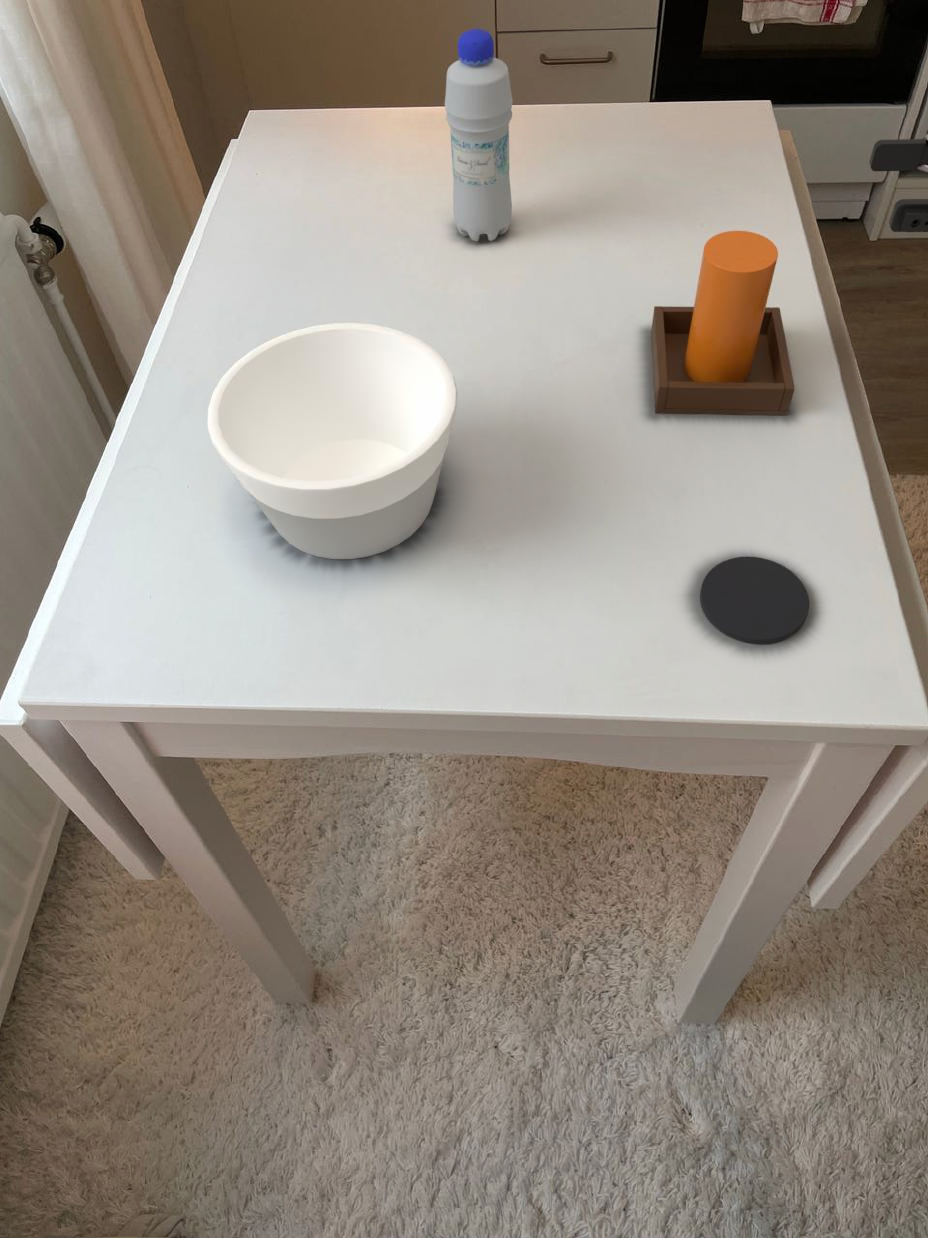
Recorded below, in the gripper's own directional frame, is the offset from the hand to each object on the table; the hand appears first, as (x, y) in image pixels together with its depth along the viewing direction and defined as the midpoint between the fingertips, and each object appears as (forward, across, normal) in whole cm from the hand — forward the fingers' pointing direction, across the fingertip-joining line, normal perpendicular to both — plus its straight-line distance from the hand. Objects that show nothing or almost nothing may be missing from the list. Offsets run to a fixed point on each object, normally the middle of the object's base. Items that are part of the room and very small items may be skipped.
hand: (882, 184), depth 73 cm
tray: (+10, 0, +18) cm, 21 cm away
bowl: (+42, +17, +18) cm, 48 cm away
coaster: (+9, +27, +18) cm, 34 cm away
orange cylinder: (+10, 0, +18) cm, 20 cm away
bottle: (+33, -24, +18) cm, 45 cm away
